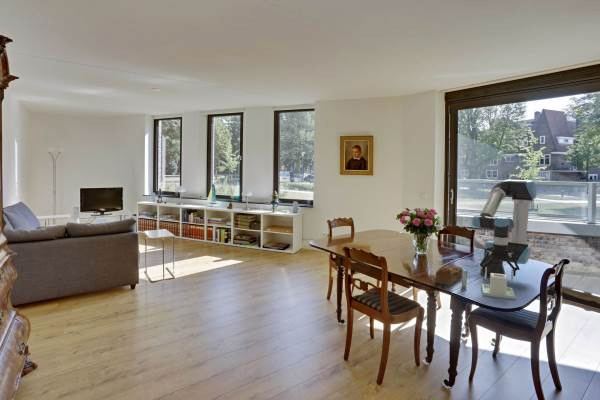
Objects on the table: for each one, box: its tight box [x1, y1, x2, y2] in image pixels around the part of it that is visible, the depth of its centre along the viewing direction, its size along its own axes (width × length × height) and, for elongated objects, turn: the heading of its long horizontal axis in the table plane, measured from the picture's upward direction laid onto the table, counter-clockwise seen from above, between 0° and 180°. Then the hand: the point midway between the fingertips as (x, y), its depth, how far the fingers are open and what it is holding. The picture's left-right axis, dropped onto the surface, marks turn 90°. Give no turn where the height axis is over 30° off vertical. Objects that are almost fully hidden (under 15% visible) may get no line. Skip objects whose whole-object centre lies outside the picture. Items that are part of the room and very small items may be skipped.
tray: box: [481, 283, 516, 301], centre depth 220 cm, size 16×16×2 cm
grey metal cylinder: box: [460, 269, 468, 291], centre depth 227 cm, size 4×4×12 cm
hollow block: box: [489, 273, 508, 295], centre depth 220 cm, size 8×8×10 cm
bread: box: [435, 264, 463, 287], centre depth 242 cm, size 19×11×10 cm, turn 136°
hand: (498, 279), depth 220 cm, fingers open, 13 cm apart
